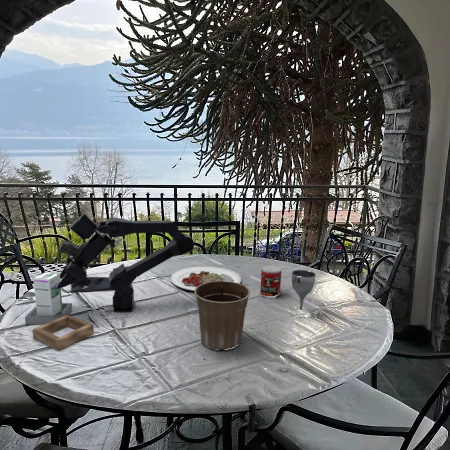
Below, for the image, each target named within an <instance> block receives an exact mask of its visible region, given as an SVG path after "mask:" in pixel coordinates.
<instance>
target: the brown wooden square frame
mask: <svg viewBox="0 0 450 450" xmlns="http://www.w3.org/2000/svg"><path fill="white" fill-rule="evenodd" d="M68 327H69V328H70V329H73V330H72V331H70V332H68V333H65V334H63V335H61V336H57V335H56V334H53V333H55V332H58V331H60V330H62V329H64V328H68ZM94 329H95V328H94V324H93V323H90V322H88V321H85V320H82V319H81V318H77V317H75V316H72V315H71V314H69V315H66V316H63V317H61V318H58V319H56V320H54V321H51V322H49V323H46V324H40V325H39V326H37V327H34V328H32V336H33V337H32V338H33V339H34V340H35V341H38V342H40V343H42V344H43V345H46V346H48V347H50V348H52V349H54V350H56V351H62V350H64V349H65V348H67V347H69V346H72V345H74V344H75V343H78V342H80V341H82V340H84V339H86V338H88V337H89V336H92V335H94V334H95V333H94V332H95V331H94Z"/></svg>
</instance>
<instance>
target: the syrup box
mask: <svg viewBox="0 0 450 450" xmlns="http://www.w3.org/2000/svg"><path fill="white" fill-rule="evenodd" d="M60 281H61V279H60V273H58V272H57V273H56V272H43V273H42V274H39V275H38V276H36V277H34V278H33V288H34V298H35V307H36V311H37V316H59V315H60V313H61V312H62V311H63V310H62V303H63V299H62V298H63V297H62V288H60V289H59V288H58V287H57V286H58V284H59V283H60Z"/></svg>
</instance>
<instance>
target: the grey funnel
mask: <svg viewBox="0 0 450 450" xmlns="http://www.w3.org/2000/svg"><path fill="white" fill-rule="evenodd" d="M315 282H316V273H315V272H313V271H311V270H308V269H294V270H293V271H292V272H291V284H292V285H291V286H292V289H293V290H294V292H295V293H296V294H297V295H298V297H299V305H300V306H299V309H300V310H303V305H304V300H305V298H306V297H307V296H308V295H309V294H310V293H312V291H313V290H314V286H315Z"/></svg>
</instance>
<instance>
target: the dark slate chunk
mask: <svg viewBox="0 0 450 450" xmlns="http://www.w3.org/2000/svg"><path fill="white" fill-rule="evenodd" d="M85 286H86V287H85ZM76 291H77V293H78V292H79V293H80V292H82V293H83V292H84V293H85V292H97V291H113V290H112V288H111V287H110V283H109V276H108V277H107V276H87V277H86V278H85V279H84V280H83V281H78V282H76V283H73V284H70V292H71V293H76Z"/></svg>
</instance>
